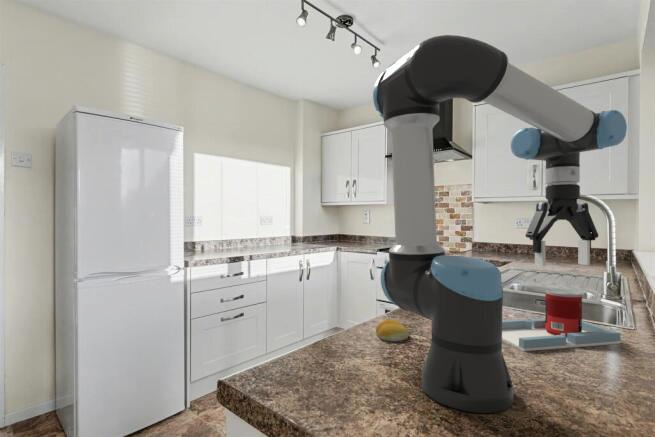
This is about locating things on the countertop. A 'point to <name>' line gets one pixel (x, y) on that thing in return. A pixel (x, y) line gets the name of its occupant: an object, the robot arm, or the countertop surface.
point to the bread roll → (391, 331)
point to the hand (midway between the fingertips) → (562, 265)
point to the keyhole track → (537, 338)
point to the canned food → (563, 311)
